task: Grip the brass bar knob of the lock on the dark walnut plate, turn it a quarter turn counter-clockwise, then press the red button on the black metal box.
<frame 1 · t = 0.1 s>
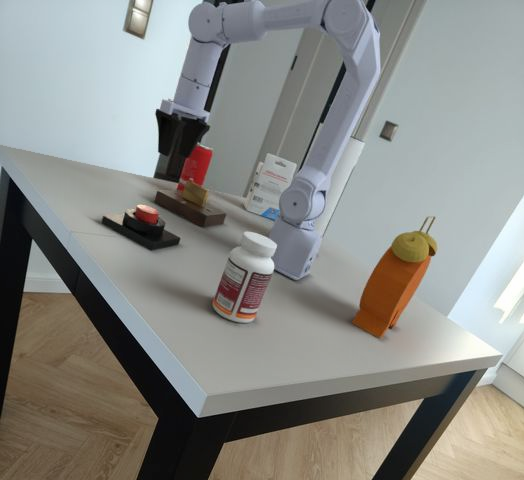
hand: (173, 155, 99), 10 cm above the table, tool pointing down, fingers open, 7 cm apart
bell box: (141, 234, 84), on the table
lock knob: (195, 193, 104), point 4 cm above the table, hinge at 0.0°
bell button: (146, 214, 82), point 4 cm above the table, slide at 0.1 cm
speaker: (294, 246, 116), on the table
beverage can: (186, 198, 116), on the table
ink box: (259, 213, 131), on the table
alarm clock: (372, 325, 89), on the table
pill bottle: (231, 314, 70), on the table
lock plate: (189, 213, 106), on the table
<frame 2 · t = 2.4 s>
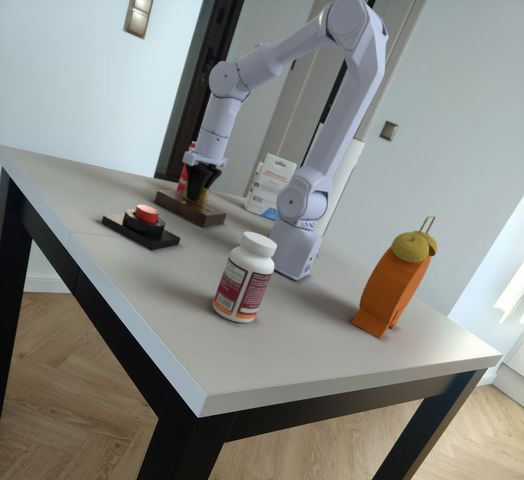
hand: (193, 199, 104), 3 cm above the table, tool pointing down, fingers closed on lock knob
lock knob: (195, 193, 104), point 4 cm above the table, hinge at 0.0°, touching gripper
everything else where it was.
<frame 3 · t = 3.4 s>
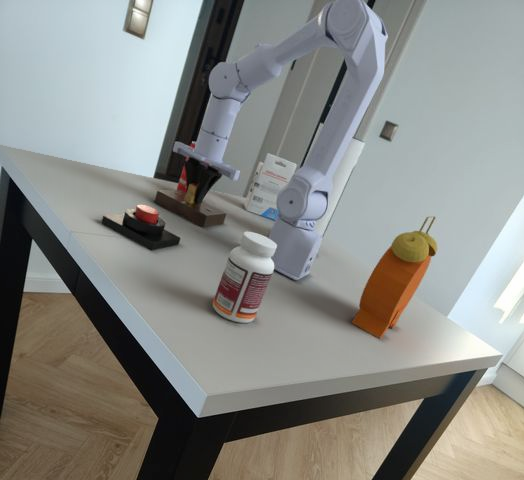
hand: (193, 200, 104), 3 cm above the table, tool pointing down, fingers closed on lock knob
lock knob: (195, 193, 104), point 4 cm above the table, hinge at 90.0°, touching gripper
everything else where it was.
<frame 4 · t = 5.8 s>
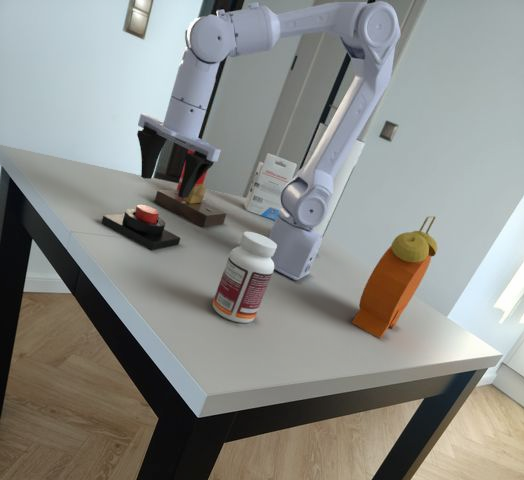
hand: (164, 187, 85), 8 cm above the table, tool pointing down, fingers open, 7 cm apart
lock knob: (195, 193, 104), point 4 cm above the table, hinge at 90.0°
everything else where it was.
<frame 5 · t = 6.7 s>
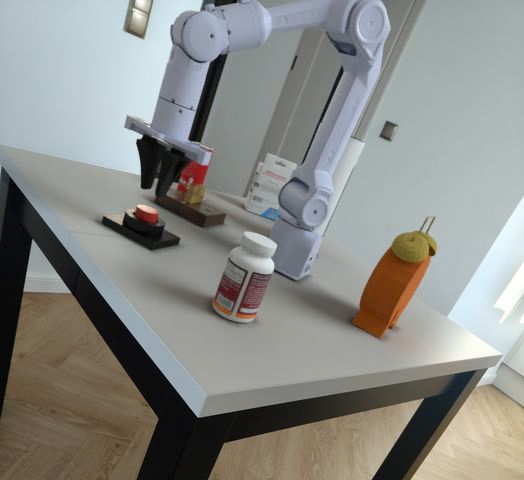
hand: (152, 192, 80), 7 cm above the table, tool pointing down, fingers closed
nothing on the table moved.
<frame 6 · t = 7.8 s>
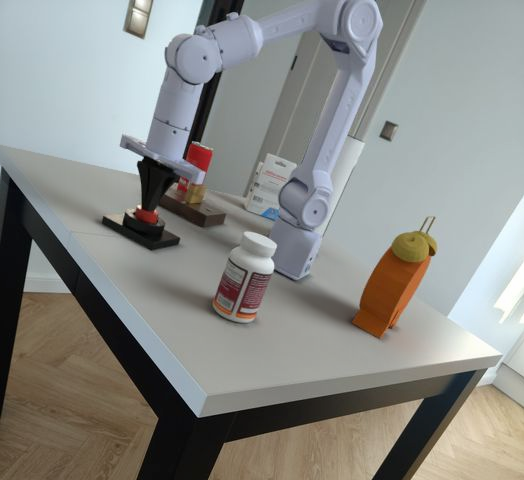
hand: (147, 209, 82), 4 cm above the table, tool pointing down, fingers closed, pressing on bell button
bell button: (146, 214, 82), point 3 cm above the table, slide at 0.0 cm, touching gripper
everything else where it was.
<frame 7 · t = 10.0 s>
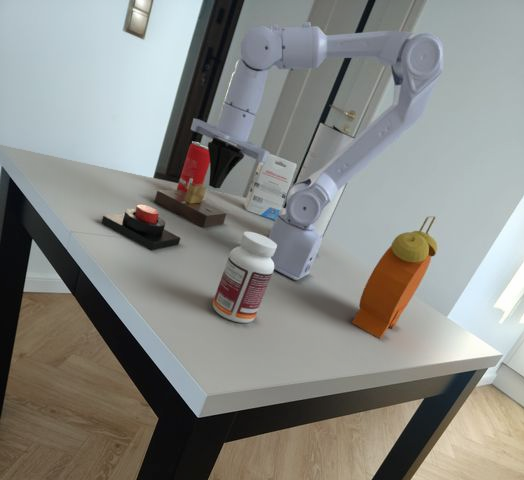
hand: (214, 186, 91), 9 cm above the table, tool pointing down, fingers closed
bell button: (146, 214, 82), point 4 cm above the table, slide at 0.1 cm
everything else where it was.
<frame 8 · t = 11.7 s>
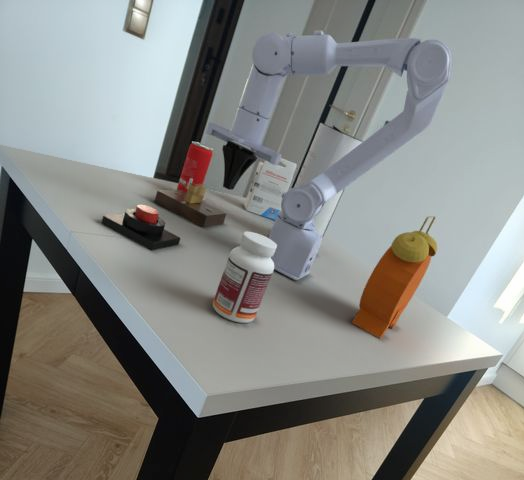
hand: (228, 188, 95), 9 cm above the table, tool pointing down, fingers closed
nothing on the table moved.
at the end: lock knob at +90° (first picture: +0°); bell button pushed in 1.1 cm at the most during the clip, back to where it started at the end; bell button slide at 0.1 cm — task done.
